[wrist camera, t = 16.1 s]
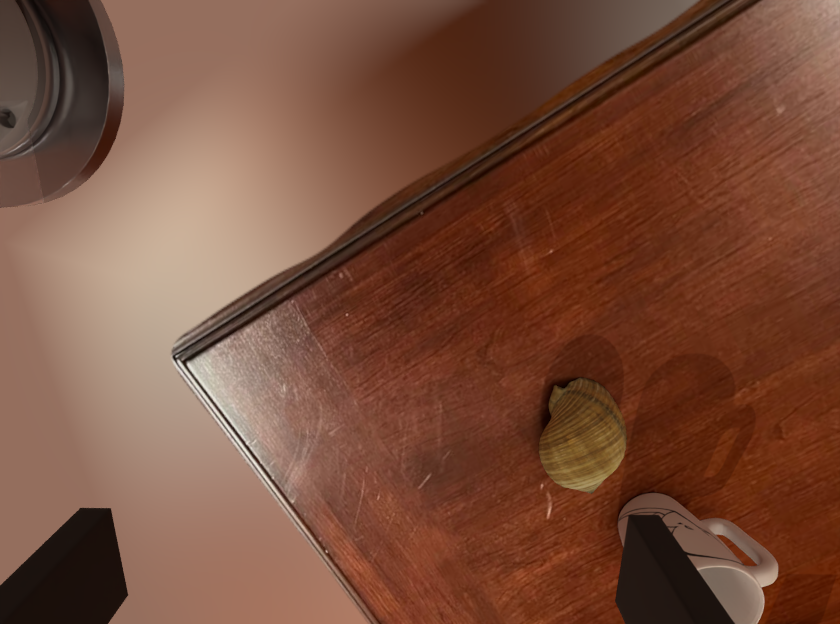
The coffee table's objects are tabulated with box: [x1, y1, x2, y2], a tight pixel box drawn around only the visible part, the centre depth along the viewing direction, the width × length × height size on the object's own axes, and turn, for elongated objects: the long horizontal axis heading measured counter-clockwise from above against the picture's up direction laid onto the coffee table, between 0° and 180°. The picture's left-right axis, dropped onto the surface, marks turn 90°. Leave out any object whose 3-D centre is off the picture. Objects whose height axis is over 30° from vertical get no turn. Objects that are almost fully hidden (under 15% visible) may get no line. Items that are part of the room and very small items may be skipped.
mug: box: [618, 493, 778, 624], centre depth 41 cm, size 11×8×10 cm
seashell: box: [539, 378, 627, 494], centre depth 41 cm, size 10×7×8 cm
